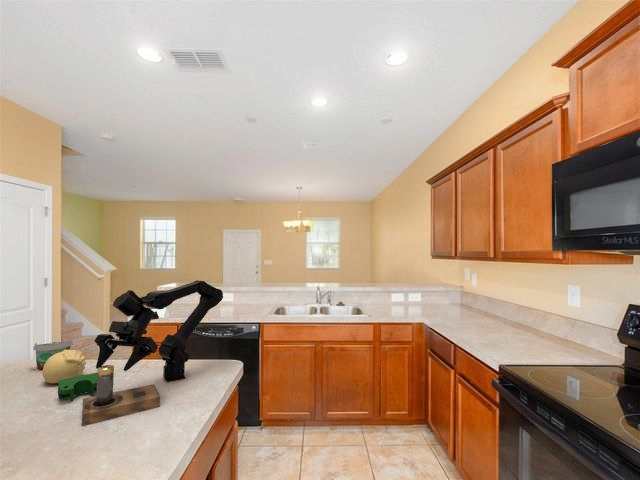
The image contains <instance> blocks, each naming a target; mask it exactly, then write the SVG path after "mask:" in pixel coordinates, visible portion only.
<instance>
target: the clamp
mask: <svg viewBox="0 0 640 480" xmlns="http://www.w3.org/2000/svg"><path fill="white" fill-rule="evenodd" d="M97 373H98V371H97V372H93V373H89V374H83V375H82V374H81V375H80V376H77V377H73V378H68V379H63V380H59V383H57V384H58V385H57V397H58V399H59V400H63V399H67V398H69V399H70V402H73V401H74V397H75V396H79V395H83V394H89V395H90V397H94V396H93V395H94V392H95V391H96V392H97Z"/></svg>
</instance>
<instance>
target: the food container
mask: <svg viewBox="0 0 640 480" xmlns="http://www.w3.org/2000/svg"><path fill="white" fill-rule="evenodd" d="M73 345H74V344H73V339H69V340H68V341H65V342H64V341H63V342H59V341H58V342H56V341H55V342H49V343H43V344H41V343H40V344H37V342H35V343H34V345H33V350H34V351H35V359H36V361H35V362H36V370H37V369H38V371H42V370H43V367H44V365H45V363H46V361H47V360H48V359H49V358H50V357H51V356H53V355H54V354H57V353H59V352H62V351H64V350H71V346H73Z"/></svg>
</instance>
